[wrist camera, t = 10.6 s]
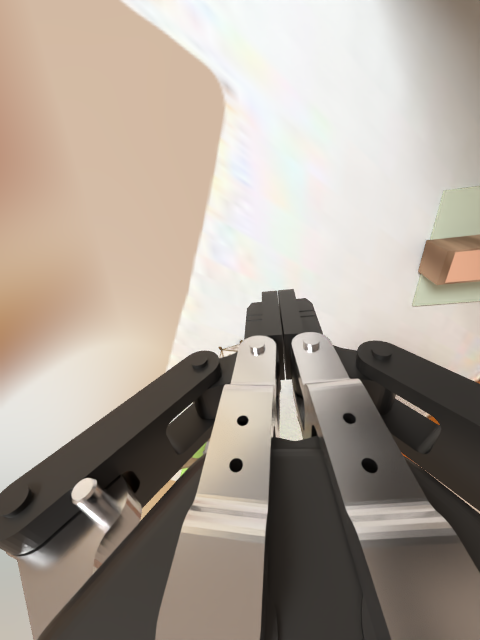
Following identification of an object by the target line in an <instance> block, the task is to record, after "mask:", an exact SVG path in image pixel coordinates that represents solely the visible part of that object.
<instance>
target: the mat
mask: <svg viewBox="0 0 480 640" xmlns="http://www.w3.org/2000/svg"><path fill="white" fill-rule="evenodd" d="M479 234H480V186H476V187H468V188H460V189H453V190H445V191H443V195H442V198H441V202H440V206H439V209H438V213H437V216H436V220H435V224H434V227H433V231H432V234H431V238H430V240H433V239H443V238H452V237H461V236H470V235H479ZM474 301H480V281H479V282H467V283H456V284H444V285H436V284H434V283H433V282H432V281H430V280H429V279H428V278H426V277H425V276H423V275H422V274H420V278H419V281H418V285H417V289H416V292H415V296H414V300H413V303H412V306H423V305H435V304H448V303H461V302H474Z"/></svg>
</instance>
